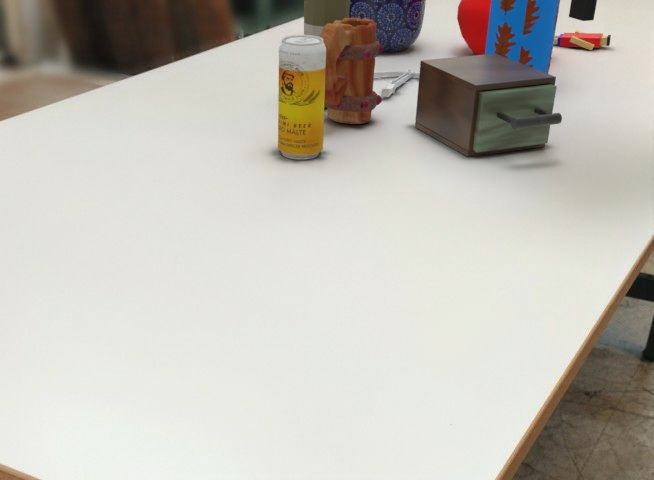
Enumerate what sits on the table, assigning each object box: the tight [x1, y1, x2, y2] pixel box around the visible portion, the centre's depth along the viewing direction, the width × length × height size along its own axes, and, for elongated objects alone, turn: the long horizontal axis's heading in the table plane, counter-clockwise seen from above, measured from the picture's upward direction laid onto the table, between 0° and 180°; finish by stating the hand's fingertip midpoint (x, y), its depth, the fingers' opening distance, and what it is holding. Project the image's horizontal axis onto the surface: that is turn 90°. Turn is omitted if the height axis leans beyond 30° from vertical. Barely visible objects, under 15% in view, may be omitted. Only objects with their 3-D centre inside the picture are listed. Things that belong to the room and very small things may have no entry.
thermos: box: [485, 0, 561, 74], centre depth 152 cm, size 11×11×25 cm
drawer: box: [473, 84, 563, 152], centre depth 128 cm, size 18×11×8 cm, turn 22°
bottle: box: [303, 0, 350, 109], centre depth 140 cm, size 7×7×30 cm
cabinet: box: [414, 53, 557, 158], centre depth 132 cm, size 15×13×10 cm
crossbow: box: [374, 69, 420, 98], centre depth 157 cm, size 16×13×2 cm
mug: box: [320, 18, 384, 125], centre depth 135 cm, size 15×8×15 cm, turn 149°
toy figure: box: [553, 30, 612, 51], centre depth 185 cm, size 2×7×12 cm
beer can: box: [277, 34, 326, 161], centre depth 123 cm, size 6×6×15 cm
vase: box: [456, 0, 560, 55], centre depth 173 cm, size 18×18×19 cm
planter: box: [349, 0, 427, 54], centre depth 179 cm, size 17×17×15 cm
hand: (581, 18), depth 110 cm, fingers closed
